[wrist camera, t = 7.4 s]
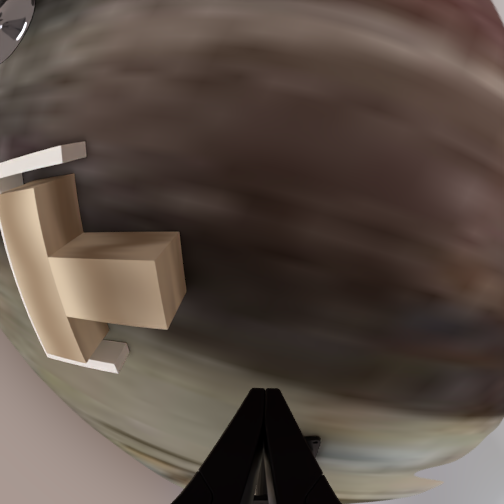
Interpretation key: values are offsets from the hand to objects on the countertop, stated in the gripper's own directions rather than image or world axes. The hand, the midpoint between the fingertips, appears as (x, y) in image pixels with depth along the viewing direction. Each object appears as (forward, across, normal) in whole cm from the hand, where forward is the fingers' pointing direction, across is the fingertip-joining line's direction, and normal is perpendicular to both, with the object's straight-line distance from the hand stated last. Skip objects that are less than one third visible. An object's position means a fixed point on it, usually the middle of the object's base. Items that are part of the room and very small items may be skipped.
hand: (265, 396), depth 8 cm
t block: (+10, +11, 0) cm, 15 cm away
